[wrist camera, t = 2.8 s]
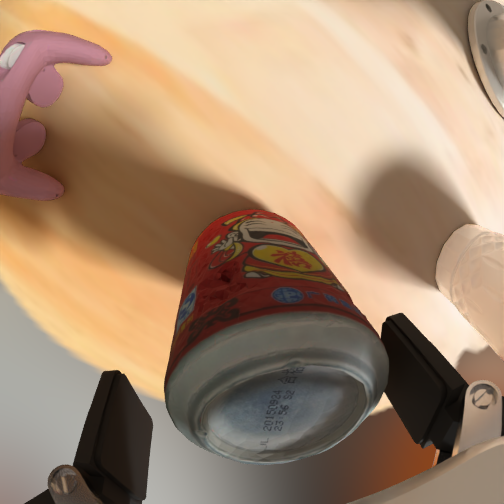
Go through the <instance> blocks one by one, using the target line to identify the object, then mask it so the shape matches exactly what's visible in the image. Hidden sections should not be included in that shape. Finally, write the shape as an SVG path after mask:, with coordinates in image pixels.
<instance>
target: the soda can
mask: <svg viewBox="0 0 504 504" xmlns="http://www.w3.org/2000/svg"><path fill="white" fill-rule="evenodd" d="M388 376H389V358H388V355H387V352H386V349H385V346H384V344H383V342H382V340H381V339H380V337H379V335H378V333H377V332H376V331H375V329H374V328H373V327H372V325H371V324H370V323H369V321H368V320H367V318H366V316H365V315H363V314H362V313H361V311H360V310H359V309H358V308H357V307H356V306H355V305H354V304H353V302H352V299H351V297H350V295H349V294H348V292H347V291H346V290H345V288H344V287H343V286H342V284H341V283H340V282H339V280H338V279H337V278H336V276H335V275H334V274H333V273H332V271H331V270H330V269H329V267H328V266H327V265H326V263H325V262H324V261H323V260H322V258H321V257H320V256H319V255H318V253H317V252H316V251H315V249H314V248H313V247H312V246H311V244H310V243H309V242H308V241H307V239H306V238H305V237H304V236H303V234H302V233H301V232H300V231H299V230H298V228H297V227H296V226H295V225H294V224H293V223H291V222H290V221H288V220H287V219H285V218H283V217H281V216H279V215H277V214H275V213H271V212H267V211H263V210H259V209H248V210H241V211H235V212H232V213H230V214H227V215H225V216H222V217H220V218H218V219H217V220H215V221H214V222H212V223H211V224H210V225H209V226H208V227H207V228H206V229H205V230H204V231H203V232H202V233H201V234H200V235H199V237H198V238H197V240H196V242H195V244H194V246H193V248H192V250H191V253H190V258H189V262H188V266H187V270H186V275H185V279H184V284H183V289H182V295H181V300H180V304H179V309H178V313H177V318H176V323H175V330H174V335H173V340H172V345H171V350H170V357H169V362H168V366H167V371H166V375H165V381H164V393H165V403H166V408H167V410H168V413H169V415H170V417H171V419H172V421H173V423H174V425H175V427H176V428H177V429H178V430H179V431H180V432H181V433H182V434H183V435H184V436H185V437H186V438H187V439H188V440H190V441H191V442H193V443H194V444H196V445H197V446H199V447H200V448H203V449H205V450H207V451H209V452H212V453H214V454H217V455H219V456H222V457H225V458H228V459H231V460H234V461H237V462H240V463H246V464H258V465H269V464H280V463H286V462H290V461H294V460H299V459H303V458H306V457H309V456H312V455H316V454H319V453H321V452H324V451H326V450H328V449H330V448H332V447H333V446H335V445H336V444H337V443H339V442H340V441H342V440H343V439H344V438H346V437H347V436H349V435H350V434H351V433H352V432H353V431H354V430H355V429H356V428H358V426H359V425H360V424H361V422H363V421H364V420H365V418H366V417H367V416H368V415H369V414H370V413H371V412H372V411H373V409H374V408H375V407H376V406H377V404H378V403H379V401H380V399H381V397H382V394H383V392H384V390H385V388H386V386H387V384H388Z"/></svg>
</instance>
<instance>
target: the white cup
mask: <svg viewBox="0 0 504 504" xmlns="http://www.w3.org/2000/svg"><path fill="white" fill-rule="evenodd" d="M435 279H436V282H437V285H438V288H439V291H440V292H441V293H442V294H443V295H444V296H445V297H446V298H447V299H448V300H449V301H450V302H452V303H453V304H454V305H455V306H456V308H457V309H458V311H459V312H460V313H461V315H462V316H463V317H464V318H465V319H466V320H467V321H468V322H469V323H470V325H471V326H472V327H473V328H474V329H475V330H476V331H477V332H478V333H479V334H480V335H481V337H482V338H483V339H484V340H485V341H486V342H487V343H488V344H489V345H490V346H491V348H492V349H493V350H494V351H495V352H496V353H497V355H498V356H499V357H500V358H501V359H502V360H503V362H504V235H502V234H499V233H496V232H492V231H490V230H488V229H486V228H483V227H481V226H479V225H472V224H465V225H464V226H462V227H461V228H459V229H457V230H456V231H454V232H453V234H452V235H451V236H450V238H449V239H448V240H447V241H446V243H445V244H444V246H443V248H442V251H441V253H440V256H439V258H438V261H437V266H436V276H435Z"/></svg>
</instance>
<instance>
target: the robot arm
mask: <svg viewBox="0 0 504 504" xmlns="http://www.w3.org/2000/svg"><path fill="white" fill-rule="evenodd" d="M468 34H469V41H470V46H471V51H472V55H473V58H474V62H475V65H476V68H477V71H478V73H479V76H480V79H481V81H482V83H483V85H484V88H485V90H486V92H487V94H488V96H489V97H490V99H491V101H492V103H493V104H494V106H495V107H496V109H497V110H498V112H499V113H500V114H501V115H502V117H503V118H504V6H503V5H501V4H500V3H498V2H495V1H493V0H483V1H479V2H477V3H475V4H474V5H473V6H472V8H471V9H470V13H469V16H468ZM381 340H382V342H383V344H384V346H385V349H386V352H387V355H388V358H389V376H388V384H387V386H386V388H385V390H384V392H385V394H386V395H387V397H388V399H389V400H390V402H391V404H392V405H393V407H394V409H395V410H396V412H397V413H398V415H399V417H400V418H401V420H402V422H403V424H404V425H405V427H406V429H407V430H408V432H409V434H410V435H411V437H412V439H413V440H414V442H415V443H416V444H419V443H420V445H421V447H422V448H425V447H427V446H429V445H431V444H434V446H435V447H436V449H437V451H436V455H435V459H434V463H433V467H432V468H430V469H428V470H426V471H424V472H422V473H420V474H418V475H416V476H414V477H412V478H410V479H408V480H406V481H403V482H401V483H399V484H397V485H394V486H392V487H390V488H387V489H385V490H382V491H380V492H377V493H375V494H372V495H370V496H367V497H364V498H361V499H359V500H356V501H353V502H350V503H347V504H504V397H503V396H501V392H500V390H499V388H498V387H497V386H496V385H495V384H494V383H492V382H490V381H485V380H479V381H476V382H473V383H472V384H471V385H470V386H469V385H468V384H467V382H466V381H465V380H464V379H463V378H462V377H461V375H460V374H459V373H458V372H457V371H456V370H455V369H454V367H453V366H452V365H451V364H450V363H449V362H448V361H447V360H446V358H445V357H444V356H443V355H442V354H441V353H440V352H439V351H438V350H437V348H436V347H435V346H434V345H433V344H432V343H431V342H430V341H429V340H428V339H427V338H426V337H425V336H424V335H423V334H422V333H421V332H420V331H419V330H418V329H417V328H416V327H415V325H414V324H413V323H412V322H411V321H410V320H409V319H408V318H407V317H406V316H405V315H404V314H403V313H398V314H395V315H392V316H389V317H387V318H386V321H385V322H383V324H382V332H381ZM152 430H153V422H152V419H151V417H150V415H149V414H148V412H147V410H146V409H145V407H144V406H143V404H142V402H141V401H140V399H139V397H138V396H137V394H136V392H135V391H134V389H133V387H132V386H131V384H130V382H129V380H128V379H127V377H126V375H125V374H121V372H120V371H119V370H113V371H104V372H103V373H102V375H101V378H100V381H99V384H98V387H97V389H96V392H95V396H94V398H93V401H92V404H91V407H90V409H89V412H88V415H87V418H86V421H85V424H84V428H83V431H82V434H81V438H80V442H79V445H78V448H77V452H76V456H75V459H74V463H73V466H71V465H60V466H58V467H56V468H55V469H53V470H52V472H51V473H50V475H49V477H48V488H49V489H47V490H46V491H44V492H42V493H41V494H39V495H38V496H36V497H34V498H33V499H31V500H30V501H28V502H26V503H25V504H142V500H145V498H146V490H147V478H148V467H149V456H150V447H151V438H152Z"/></svg>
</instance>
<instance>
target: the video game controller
mask: <svg viewBox="0 0 504 504" xmlns="http://www.w3.org/2000/svg"><path fill="white" fill-rule="evenodd" d="M111 61H112V56H111V55H110V54H109V52H108V51H107V50H105V49H104V48H102V47H101V46H99V45H97V44H94V43H92V42H89V41H87V40H84V39H81V38H79V37H76V36H73V35H69V34H65V33H58V32H52V31H45V30H32V31H26V32H23V33H20V34H18V35H17V36H15V37H14V38H13V39H12V40H10V41H9V43H8V44H7V45H6V46H5V47H4V49H3V51H2V53H1V55H0V194H2V195H7V196H12V197H18V198H25V199H33V200H53V199H56V198H59V197H61V196H62V195H63V193H64V187H63V185H62V184H61V183H60V182H58V181H57V180H56V179H54V178H53V177H51V176H49V175H47V174H45V173H42V172H40V171H37V170H35V169H32V168H28V167H25V166H23V165H22V164H21V163H22V161H24V160H25V159H27V158H29V157H31V156H33V155H35V154H36V153H38V152H39V151H40V150H41V148H42V147H43V145H44V142H45V138H46V131H45V127H44V126H43V125H42V124H41V123H40V122H38V121H36V120H34V119H31V118H28V119H24V120H21V121H19V118H20V115H21V112H22V109H23V106H24V103H25V100H26V98H27V99H28V100H29V101H30V102H32V103H34V104H35V105H37V106H39V107H48V106H50V105H52V104H53V103H54V102H55V101H56V100H57V99H58V98H59V96H60V94H61V92H62V89H63V79H62V77H61V76H60V74H59V73H58V72H57V71H56V69H55V67H54V65H55V64H56V63H75V64H82V65H94V66H103V65H107V64H109V63H110V62H111Z"/></svg>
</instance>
